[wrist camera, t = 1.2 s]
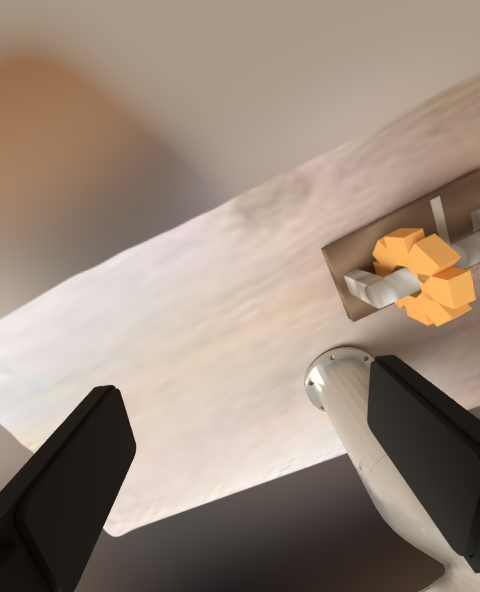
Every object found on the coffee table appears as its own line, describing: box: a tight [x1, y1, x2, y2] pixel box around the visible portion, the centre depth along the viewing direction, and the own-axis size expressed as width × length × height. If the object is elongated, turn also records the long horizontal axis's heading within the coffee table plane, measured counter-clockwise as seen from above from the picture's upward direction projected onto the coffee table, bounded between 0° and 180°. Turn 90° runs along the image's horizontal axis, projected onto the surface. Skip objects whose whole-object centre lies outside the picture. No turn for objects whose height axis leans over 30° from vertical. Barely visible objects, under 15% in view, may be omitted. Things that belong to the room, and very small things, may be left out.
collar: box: [372, 228, 476, 326], centre depth 26 cm, size 11×2×11 cm, turn 27°
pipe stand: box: [322, 169, 480, 322], centre depth 28 cm, size 12×22×9 cm, turn 117°
